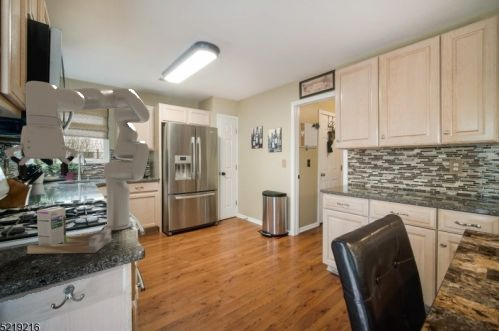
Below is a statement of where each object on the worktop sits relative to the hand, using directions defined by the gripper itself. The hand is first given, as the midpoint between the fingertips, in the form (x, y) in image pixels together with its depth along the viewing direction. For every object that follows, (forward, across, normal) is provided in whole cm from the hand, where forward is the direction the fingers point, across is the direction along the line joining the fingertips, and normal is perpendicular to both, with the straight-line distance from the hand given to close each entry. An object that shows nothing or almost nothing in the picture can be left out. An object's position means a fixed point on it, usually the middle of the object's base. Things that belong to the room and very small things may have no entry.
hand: (45, 176), depth 72 cm
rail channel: (+27, -8, -6) cm, 29 cm away
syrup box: (+28, -4, -11) cm, 30 cm away
